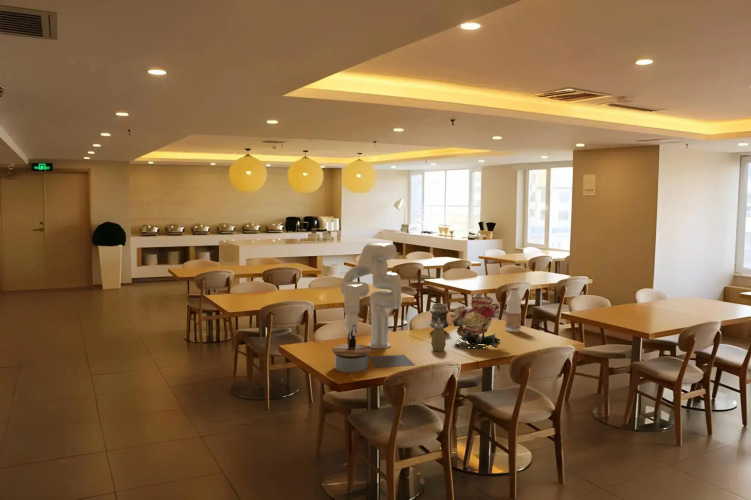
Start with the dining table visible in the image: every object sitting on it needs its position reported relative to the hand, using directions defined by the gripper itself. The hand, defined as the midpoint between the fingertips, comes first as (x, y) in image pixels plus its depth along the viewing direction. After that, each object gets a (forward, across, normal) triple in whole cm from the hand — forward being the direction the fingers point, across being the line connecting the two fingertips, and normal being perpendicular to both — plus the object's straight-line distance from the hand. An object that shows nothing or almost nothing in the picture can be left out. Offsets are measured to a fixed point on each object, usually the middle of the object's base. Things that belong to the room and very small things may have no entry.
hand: (351, 345), depth 281 cm
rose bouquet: (+12, -31, +80) cm, 86 cm away
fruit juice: (+12, -59, +118) cm, 132 cm away
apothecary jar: (+12, -63, +69) cm, 94 cm away
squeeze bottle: (+12, -23, +54) cm, 60 cm away
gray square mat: (+11, -6, +22) cm, 25 cm away
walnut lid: (+3, 0, 0) cm, 3 cm away
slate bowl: (+11, 0, 0) cm, 11 cm away
